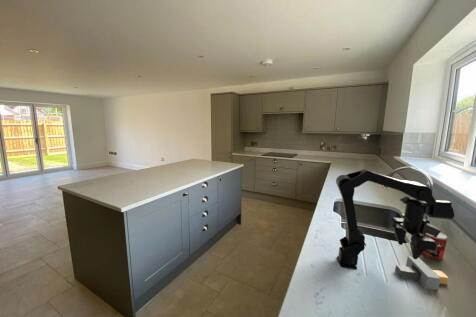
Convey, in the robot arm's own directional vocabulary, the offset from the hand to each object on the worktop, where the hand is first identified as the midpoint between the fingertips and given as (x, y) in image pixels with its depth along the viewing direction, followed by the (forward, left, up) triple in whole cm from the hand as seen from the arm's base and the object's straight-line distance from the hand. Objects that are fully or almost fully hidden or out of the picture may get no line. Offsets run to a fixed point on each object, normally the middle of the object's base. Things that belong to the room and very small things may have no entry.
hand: (407, 251), depth 79 cm
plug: (+6, 0, -11) cm, 12 cm away
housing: (+6, 0, -11) cm, 12 cm away
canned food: (+21, +18, -11) cm, 30 cm away
